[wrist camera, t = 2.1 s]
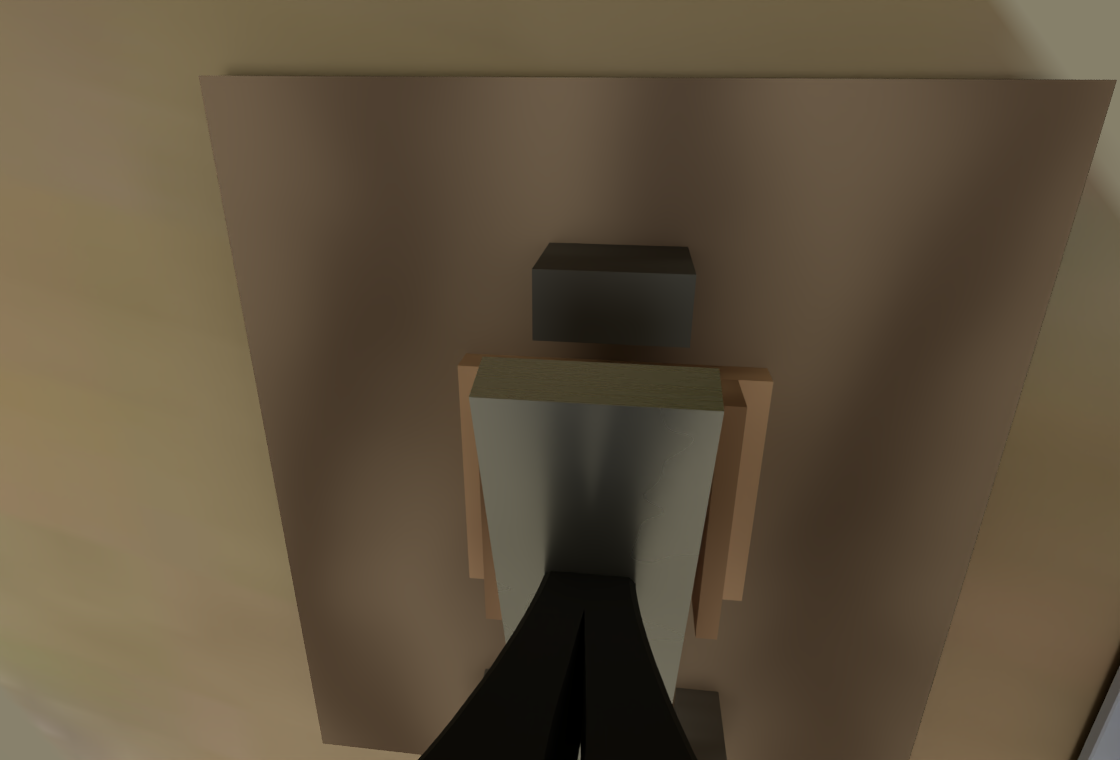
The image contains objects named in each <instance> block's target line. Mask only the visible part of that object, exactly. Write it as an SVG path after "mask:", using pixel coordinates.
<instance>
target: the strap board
mask: <svg viewBox="0 0 1120 760" xmlns="http://www.w3.org/2000/svg"><path fill="white" fill-rule="evenodd" d="M199 80H200V85H201V91H202V96H203V101H204V107H205V112H206V118H207V123H208V128H209V134H210V139H211V144H212V150H213V155H214V160H215V166H216V171H217V177H218V182H219V187H220V193H221V198H222V203H223V209H224V214H225V220H226V225H227V230H228V236H229V241H230V246H231V252H232V257H233V263H234V268H235V273H236V279H237V284H238V289H239V295H240V300H241V305H242V311H243V316H244V322H245V327H246V332H247V338H248V343H249V348H250V354H251V359H252V365H253V370H254V375H255V381H256V386H257V391H258V397H259V402H260V407H261V413H262V418H263V424H264V429H265V434H266V440H267V445H268V450H269V456H270V461H271V467H272V472H273V477H274V483H275V488H276V493H277V499H278V504H279V509H280V515H281V520H282V526H283V531H284V536H285V542H286V547H287V552H288V558H289V563H290V569H291V574H292V579H293V585H294V590H295V595H296V601H297V606H298V612H299V617H300V622H301V628H302V633H303V638H304V644H305V649H306V654H307V660H308V665H309V671H310V676H311V681H312V687H313V692H314V697H315V703H316V708H317V714H318V719H319V724H320V730H321V735H322V740H323V743H325V744H333V745H342V746H351V747H360V748H368V749H377V750H386V751H395V752H403V753H412V754H421V755H422V754H423V753H424V752H425V751H426V750H427V749H428V747H429V746H430V745H431V744H432V743H433V742H434V740H435V739H436V738H437V737H438V736H439V734H440V733H441V732H442V731H443V729H444V728H445V727H446V726H447V725H448V723H449V722H450V721H451V720H452V718H453V717H454V716H455V714H456V713H457V712H458V710H459V709H460V708H461V706H462V705H463V704H464V702H465V701H466V700H467V699H468V697H469V696H470V695H471V693H472V692H473V691H474V689H475V688H476V687H477V685H478V684H479V683H480V681H481V680H482V679H483V677H484V676H485V674H486V673H487V672H488V670H489V669H490V667H491V666H492V664H493V663H494V661H495V660H496V658H497V657H498V655H499V654H500V652H501V651H502V649H503V648H504V646H505V645H506V642H505V635H504V629H503V622H502V615H501V609H500V602H499V595H498V589H497V582H496V575H495V569H494V562H493V555H492V549H491V542H490V535H489V529H488V522H487V515H486V509H485V502H484V495H483V489H482V482H481V475H480V469H479V462H478V455H477V449H476V442H475V435H474V429H473V422H472V415H471V409H470V402H469V395H470V392H471V389H472V386H473V383H474V380H475V377H476V374H477V371H478V368H479V365H480V362H481V359H482V357H500V358H520V359H541V360H561V361H581V362H601V363H621V364H642V365H662V366H682V367H702V368H719V370H720V379H721V387H722V396H723V405H724V416H723V421H722V427H721V433H720V438H719V444H718V450H717V455H716V461H715V466H714V472H713V478H712V483H711V489H710V495H709V500H708V506H707V512H706V517H705V523H704V528H703V534H702V540H701V545H700V551H699V557H698V562H697V568H696V573H695V579H694V585H693V590H692V596H691V602H690V607H689V613H688V618H687V624H686V630H685V635H684V641H683V647H682V652H681V658H680V663H679V669H678V675H677V680H676V686H675V692H674V697H673V703H672V705H673V707H674V710H675V712H676V714H677V717H678V719H679V721H680V723H681V726H682V728H683V730H684V732H685V734H686V736H687V739H688V741H689V743H690V745H691V747H692V749H693V752H694V754H695V756H696V758H697V760H909V759H910V755H911V752H912V749H913V746H914V742H915V739H916V736H917V733H918V729H919V726H920V723H921V719H922V716H923V713H924V710H925V706H926V703H927V700H928V697H929V693H930V690H931V687H932V683H933V680H934V677H935V674H936V670H937V667H938V664H939V661H940V657H941V654H942V651H943V647H944V644H945V641H946V638H947V634H948V631H949V628H950V625H951V621H952V618H953V615H954V611H955V608H956V605H957V602H958V598H959V595H960V592H961V588H962V585H963V582H964V579H965V575H966V572H967V569H968V566H969V562H970V559H971V556H972V552H973V549H974V546H975V543H976V539H977V536H978V533H979V530H980V526H981V523H982V520H983V516H984V513H985V510H986V507H987V503H988V500H989V497H990V494H991V490H992V487H993V484H994V480H995V477H996V474H997V471H998V467H999V464H1000V461H1001V458H1002V454H1003V451H1004V448H1005V444H1006V441H1007V438H1008V435H1009V431H1010V428H1011V425H1012V422H1013V418H1014V415H1015V412H1016V408H1017V405H1018V402H1019V399H1020V395H1021V392H1022V389H1023V386H1024V382H1025V379H1026V376H1027V372H1028V369H1029V366H1030V363H1031V359H1032V356H1033V353H1034V350H1035V346H1036V343H1037V340H1038V336H1039V333H1040V330H1041V327H1042V323H1043V320H1044V317H1045V314H1046V310H1047V307H1048V304H1049V300H1050V297H1051V294H1052V291H1053V287H1054V284H1055V281H1056V278H1057V274H1058V271H1059V268H1060V264H1061V261H1062V258H1063V255H1064V251H1065V248H1066V245H1067V242H1068V238H1069V235H1070V232H1071V228H1072V225H1073V222H1074V219H1075V215H1076V212H1077V209H1078V206H1079V202H1080V199H1081V196H1082V192H1083V189H1084V186H1085V183H1086V179H1087V176H1088V173H1089V170H1090V166H1091V163H1092V160H1093V156H1094V153H1095V150H1096V147H1097V143H1098V140H1099V137H1100V133H1101V130H1102V127H1103V124H1104V120H1105V117H1106V114H1107V110H1108V107H1109V104H1110V101H1111V97H1112V94H1113V91H1114V88H1115V84H1116V80H1020V79H809V78H598V77H387V76H199Z"/></svg>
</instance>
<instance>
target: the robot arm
mask: <svg viewBox="0 0 1120 760" xmlns="http://www.w3.org/2000/svg"><path fill="white" fill-rule="evenodd" d="M580 744H581V760H697V758H696V756H695V754H694V752H693V749H692V747H691V745H690V743H689V741H688V739H687V736H686V734H685V732H684V730H683V728H682V726H681V723H680V721H679V719H678V717H677V714H676V712H675V710H674V707H673V705H672V703H671V700H670V698H669V695H668V693H667V690H666V687H665V685H664V682H663V680H662V677H661V675H660V672H659V669H658V667H657V664H656V662H655V659H654V656H653V653H652V650H651V647H650V644H649V641H648V638H647V634H646V631H645V628H644V624H643V621H642V617H641V613H640V609H639V604H638V599H637V593H636V583H635V582H634V581H633V580H632V579H630V578H629V577H621V576H609V575H596V574H584V573H572V572H560V571H550V572H548V573H547V574H545V575H544V576H543V579H542V581H541V583H540V586H539V588H538V590H537V592H536V594H535V596H534V598H533V600H532V601H531V603H530V605H529V607H528V609H527V610H526V612H525V614H524V616H523V617H522V619H521V621H520V622H519V624H518V626H517V627H516V629H515V631H514V632H513V634H512V635H511V637H510V638H509V640H508V642H507V643H506V645H505V646H504V648H503V649H502V651H501V652H500V654H499V655H498V657H497V658H496V660H495V661H494V663H493V664H492V666H491V667H490V669H489V670H488V672H487V673H486V674H485V676H484V677H483V679H482V680H481V681H480V683H479V684H478V685H477V687H476V688H475V689H474V691H473V692H472V693H471V695H470V696H469V697H468V699H467V700H466V701H465V702H464V704H463V705H462V706H461V708H460V709H459V710H458V712H457V713H456V714H455V716H454V717H453V718H452V720H451V721H450V722H449V723H448V725H447V726H446V727H445V728H444V729H443V731H442V732H441V733H440V734H439V736H438V737H437V738H436V739H435V740H434V742H433V743H432V744H431V745H430V746H429V747H428V749H427V750H426V751H425V752H424V753H423V754H422V756H421V757H420V758H419V759H418V760H578V755H579V749H580ZM1078 760H1120V666H1119V669H1118V671H1117V673H1116V675H1115V678H1114V680H1113V682H1112V684H1111V686H1110V689H1109V691H1108V693H1107V695H1106V698H1105V700H1104V702H1103V704H1102V707H1101V709H1100V711H1099V713H1098V715H1097V718H1096V720H1095V722H1094V724H1093V727H1092V729H1091V731H1090V733H1089V736H1088V738H1087V740H1086V742H1085V745H1084V747H1083V749H1082V751H1081V753H1080V756H1079V758H1078Z"/></svg>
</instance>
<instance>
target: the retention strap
mask: <svg viewBox="0 0 1120 760" xmlns="http://www.w3.org/2000/svg"><path fill="white" fill-rule="evenodd" d="M469 402H470V409H471V415H472V422H473V429H474V435H475V442H476V449H477V455H478V462H479V469H480V475H481V482H482V489H483V495H484V502H485V509H486V515H487V522H488V529H489V535H490V542H491V549H492V555H493V562H494V569H495V575H496V582H497V589H498V595H499V602H500V609H501V615H502V622H503V629H504V635H505V642H506V643H507V642H508V640H509V638H510V637H511V635H512V634H513V632H514V631H515V629H516V627H517V626H518V624H519V622H520V621H521V619H522V617H523V616H524V614H525V612H526V610H527V609H528V607H529V605H530V603H531V601H532V600H533V598H534V596H535V594H536V592H537V590H538V588H539V586H540V583H541V581H542V579H543V576H544V575H545V574H547V573H548V572H550V571H560V572H572V573H584V574H596V575H609V576H621V577H629V578H630V579H632V580H633V581H634V582H635V583H636V593H637V599H638V604H639V609H640V613H641V617H642V621H643V624H644V628H645V631H646V634H647V638H648V641H649V644H650V647H651V650H652V653H653V656H654V659H655V662H656V664H657V667H658V669H659V672H660V675H661V677H662V680H663V682H664V685H665V687H666V690H667V693H668V695H669V698H670V700H671V703H673V697H674V692H675V686H676V680H677V675H678V669H679V663H680V658H681V652H682V647H683V641H684V635H685V630H686V624H687V618H688V613H689V607H690V602H691V596H692V590H693V585H694V579H695V573H696V568H697V562H698V557H699V551H700V545H701V540H702V534H703V528H704V523H705V517H706V512H707V506H708V500H709V495H710V489H711V483H712V478H713V472H714V466H715V461H716V455H717V450H718V444H719V438H720V433H721V427H722V421H723V416H724V405H723V396H722V387H721V379H720V370H719V368H702V367H682V366H662V365H642V364H621V363H601V362H581V361H561V360H541V359H520V358H500V357H482V359H481V362H480V365H479V368H478V371H477V374H476V377H475V380H474V383H473V386H472V389H471V392H470V395H469ZM578 760H581V744H580V749H579V755H578Z"/></svg>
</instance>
